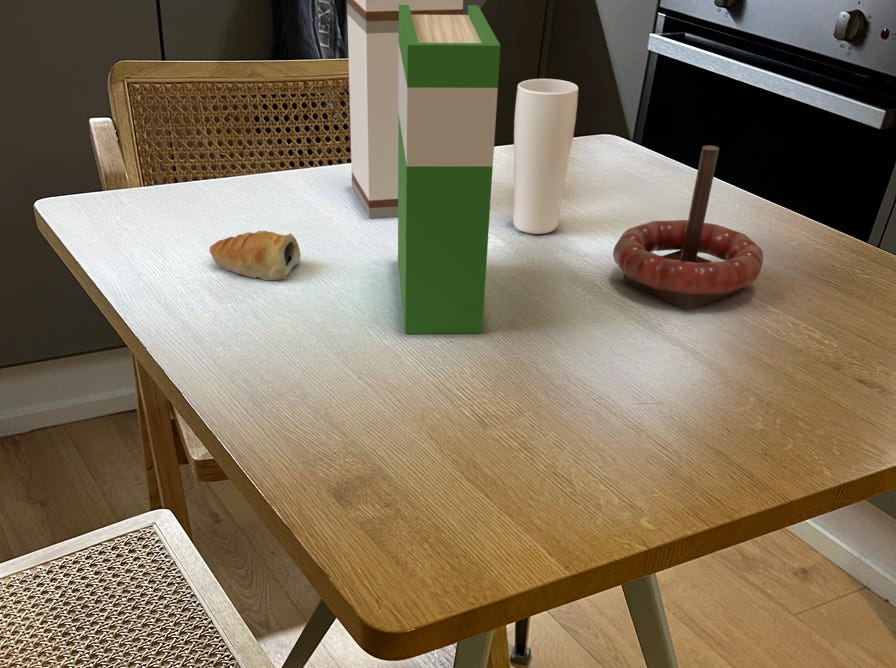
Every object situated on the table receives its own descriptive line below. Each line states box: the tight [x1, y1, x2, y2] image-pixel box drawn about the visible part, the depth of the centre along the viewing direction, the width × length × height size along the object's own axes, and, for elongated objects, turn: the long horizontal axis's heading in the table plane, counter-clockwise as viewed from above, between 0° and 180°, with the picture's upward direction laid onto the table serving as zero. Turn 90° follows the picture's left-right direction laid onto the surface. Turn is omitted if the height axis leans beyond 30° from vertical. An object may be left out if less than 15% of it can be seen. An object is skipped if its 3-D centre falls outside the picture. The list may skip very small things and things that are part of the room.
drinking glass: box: [512, 78, 579, 235], centre depth 110 cm, size 7×7×15 cm
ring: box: [612, 219, 765, 295], centre depth 101 cm, size 15×15×3 cm
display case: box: [346, 0, 464, 219], centre depth 110 cm, size 11×11×35 cm
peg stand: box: [622, 145, 746, 311], centre depth 98 cm, size 9×9×14 cm
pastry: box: [209, 230, 301, 281], centre depth 103 cm, size 9×7×4 cm
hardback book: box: [397, 4, 501, 335], centre depth 91 cm, size 18×7×24 cm, turn 3°
